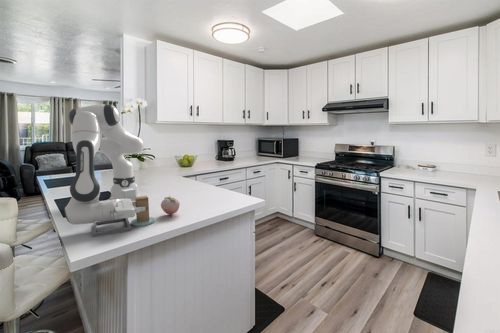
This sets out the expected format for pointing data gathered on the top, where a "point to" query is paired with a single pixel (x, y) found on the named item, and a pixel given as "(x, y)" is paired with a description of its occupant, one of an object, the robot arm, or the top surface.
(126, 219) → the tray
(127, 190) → the skincare box
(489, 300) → the top surface
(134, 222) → the teal round disc
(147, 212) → the walnut block
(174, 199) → the decorative fruit
